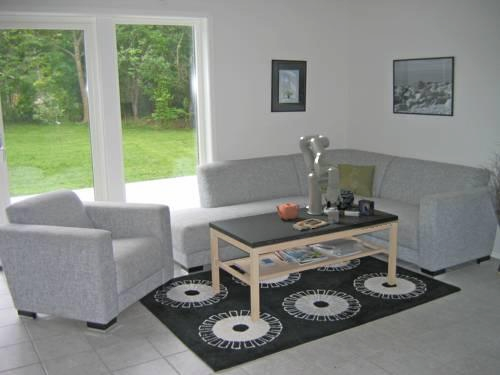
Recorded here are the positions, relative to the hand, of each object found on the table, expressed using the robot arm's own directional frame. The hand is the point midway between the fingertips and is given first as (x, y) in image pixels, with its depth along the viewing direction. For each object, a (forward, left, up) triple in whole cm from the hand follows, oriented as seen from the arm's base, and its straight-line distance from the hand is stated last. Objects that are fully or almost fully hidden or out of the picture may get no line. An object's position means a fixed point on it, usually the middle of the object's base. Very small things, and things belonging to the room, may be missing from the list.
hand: (333, 208), depth 375 cm
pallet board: (-7, -15, -10) cm, 19 cm away
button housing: (-5, -28, -10) cm, 30 cm away
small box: (+2, +32, -10) cm, 34 cm away
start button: (-5, -28, -9) cm, 30 cm away
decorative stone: (-22, +34, -10) cm, 42 cm away
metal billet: (-1, 0, -10) cm, 10 cm away
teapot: (-30, -18, -10) cm, 36 cm away
